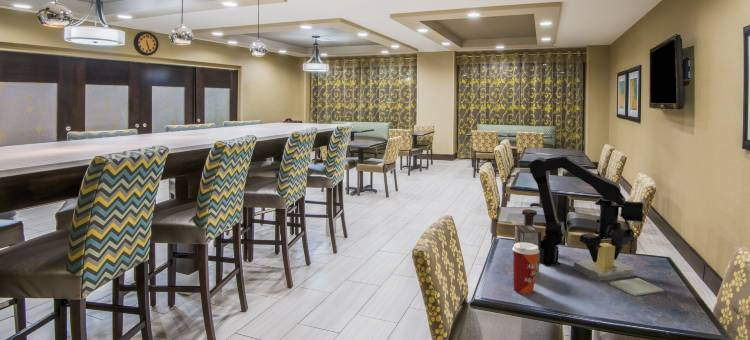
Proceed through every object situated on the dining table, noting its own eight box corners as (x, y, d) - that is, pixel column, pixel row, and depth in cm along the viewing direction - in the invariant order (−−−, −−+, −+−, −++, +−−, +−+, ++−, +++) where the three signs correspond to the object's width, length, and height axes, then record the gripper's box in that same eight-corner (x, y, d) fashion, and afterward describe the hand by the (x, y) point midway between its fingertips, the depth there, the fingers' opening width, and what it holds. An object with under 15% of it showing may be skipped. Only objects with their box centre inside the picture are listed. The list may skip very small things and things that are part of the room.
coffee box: (539, 277, 166) (542, 232, 163) (521, 277, 165) (524, 232, 163) (528, 267, 175) (531, 224, 172) (511, 267, 174) (514, 224, 172)
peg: (603, 274, 169) (606, 247, 167) (595, 270, 172) (597, 243, 171) (612, 273, 170) (615, 246, 168) (603, 269, 174) (606, 242, 172)
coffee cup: (533, 298, 149) (536, 251, 147) (506, 292, 154) (509, 247, 151) (539, 288, 156) (542, 244, 154) (514, 283, 161) (516, 240, 158)
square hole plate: (598, 281, 163) (598, 274, 163) (573, 268, 174) (573, 261, 174) (635, 275, 168) (635, 268, 168) (608, 263, 179) (609, 257, 179)
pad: (634, 296, 152) (634, 294, 151) (609, 283, 161) (609, 282, 161) (663, 291, 155) (663, 289, 155) (637, 279, 165) (637, 277, 164)
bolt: (533, 244, 200) (535, 209, 198) (535, 248, 196) (538, 212, 193) (518, 243, 201) (521, 209, 198) (521, 247, 196) (523, 212, 194)
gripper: (604, 226, 157) (600, 272, 160) (649, 222, 163) (644, 266, 166) (580, 217, 168) (576, 260, 170) (622, 214, 174) (618, 255, 176)
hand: (604, 260), depth 170 cm, fingers open, 8 cm apart
